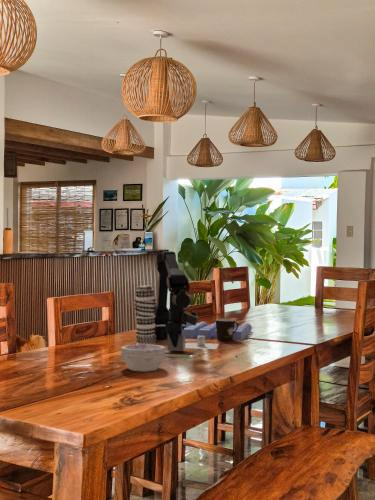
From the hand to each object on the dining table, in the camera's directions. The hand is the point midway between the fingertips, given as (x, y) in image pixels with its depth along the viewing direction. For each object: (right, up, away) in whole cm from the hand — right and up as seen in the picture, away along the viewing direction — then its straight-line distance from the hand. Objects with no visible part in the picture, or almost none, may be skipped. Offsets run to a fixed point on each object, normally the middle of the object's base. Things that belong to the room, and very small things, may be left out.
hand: (176, 345), depth 255 cm
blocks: (+16, -4, +57) cm, 60 cm away
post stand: (+10, -3, +15) cm, 18 cm away
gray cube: (0, -1, 0) cm, 1 cm away
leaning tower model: (-13, -3, +24) cm, 27 cm away
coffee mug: (+22, -4, +32) cm, 40 cm away
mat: (0, -4, 0) cm, 4 cm away
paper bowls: (-11, -4, -30) cm, 32 cm away
